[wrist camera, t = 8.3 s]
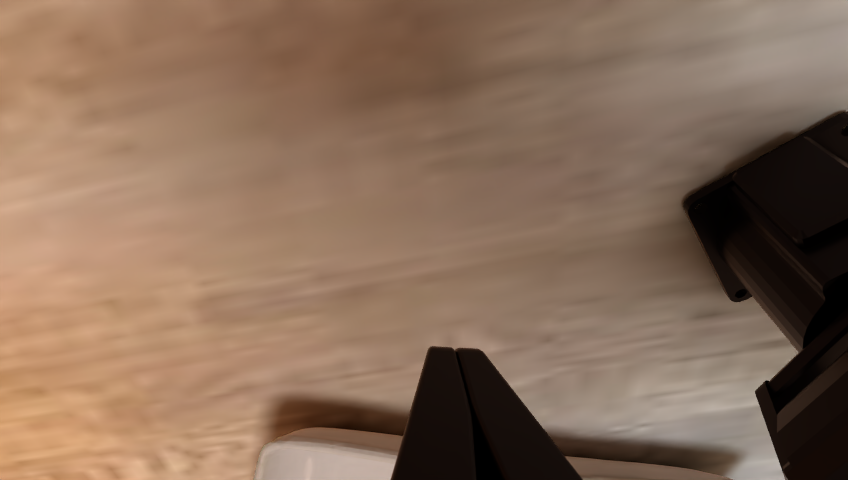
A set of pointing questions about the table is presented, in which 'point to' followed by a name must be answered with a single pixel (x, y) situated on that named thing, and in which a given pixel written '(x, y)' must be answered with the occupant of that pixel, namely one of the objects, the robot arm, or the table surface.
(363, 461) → the square plate
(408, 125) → the table surface
